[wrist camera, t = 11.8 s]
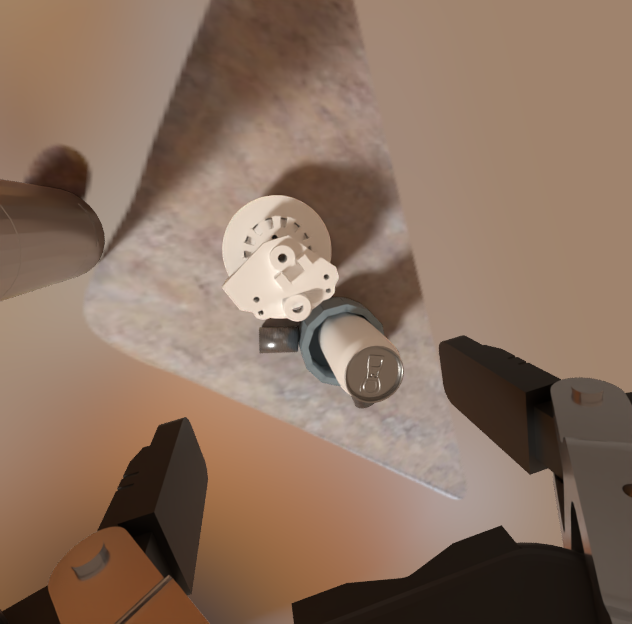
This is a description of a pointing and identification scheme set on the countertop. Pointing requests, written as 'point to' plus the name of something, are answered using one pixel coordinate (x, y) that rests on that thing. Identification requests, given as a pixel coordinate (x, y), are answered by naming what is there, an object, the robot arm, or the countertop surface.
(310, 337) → the collar
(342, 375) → the can
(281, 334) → the shaft
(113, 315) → the countertop surface
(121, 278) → the countertop surface
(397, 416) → the countertop surface
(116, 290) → the countertop surface
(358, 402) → the shaft
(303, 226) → the mechanical part
